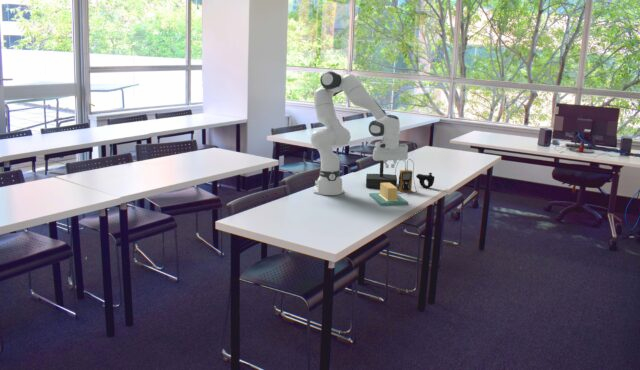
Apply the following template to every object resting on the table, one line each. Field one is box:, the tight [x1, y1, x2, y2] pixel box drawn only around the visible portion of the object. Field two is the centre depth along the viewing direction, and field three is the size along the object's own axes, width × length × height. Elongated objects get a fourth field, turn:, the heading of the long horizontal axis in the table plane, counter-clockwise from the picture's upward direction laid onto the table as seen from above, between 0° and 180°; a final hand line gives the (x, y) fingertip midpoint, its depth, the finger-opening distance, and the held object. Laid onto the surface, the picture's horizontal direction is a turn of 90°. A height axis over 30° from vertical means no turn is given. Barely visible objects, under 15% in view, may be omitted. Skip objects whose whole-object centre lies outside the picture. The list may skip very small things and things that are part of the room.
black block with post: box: [365, 160, 398, 189], centre depth 364 cm, size 19×17×20 cm
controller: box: [416, 172, 435, 189], centre depth 362 cm, size 4×12×10 cm, turn 48°
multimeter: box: [394, 158, 417, 195], centre depth 347 cm, size 15×10×20 cm
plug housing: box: [379, 183, 399, 200], centre depth 331 cm, size 14×6×7 cm, turn 13°
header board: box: [368, 192, 409, 207], centre depth 332 cm, size 22×16×6 cm
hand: (389, 167), depth 328 cm, fingers open, 2 cm apart
